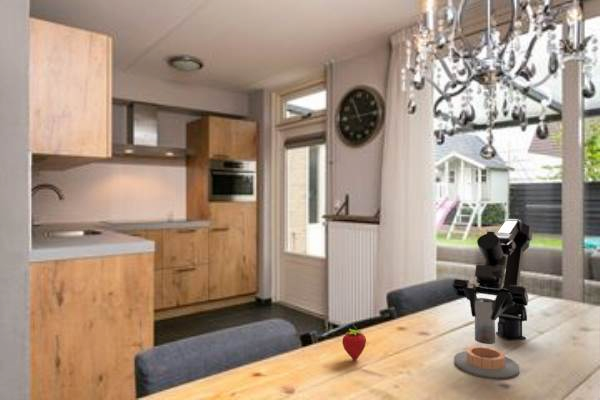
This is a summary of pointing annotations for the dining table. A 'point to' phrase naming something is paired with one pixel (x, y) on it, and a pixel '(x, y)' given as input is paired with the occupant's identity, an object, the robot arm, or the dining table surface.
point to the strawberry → (354, 343)
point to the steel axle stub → (484, 320)
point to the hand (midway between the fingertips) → (483, 317)
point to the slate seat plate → (487, 372)
